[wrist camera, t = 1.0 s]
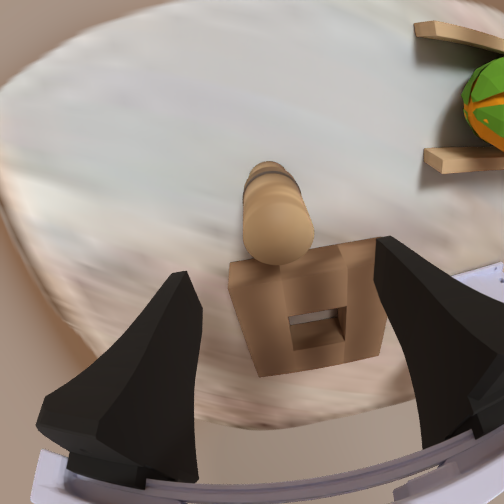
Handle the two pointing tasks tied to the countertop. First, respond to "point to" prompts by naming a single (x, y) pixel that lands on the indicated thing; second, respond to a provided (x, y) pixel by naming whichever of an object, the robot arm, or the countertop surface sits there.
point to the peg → (275, 216)
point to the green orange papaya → (486, 103)
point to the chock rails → (462, 157)
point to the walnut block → (309, 308)
